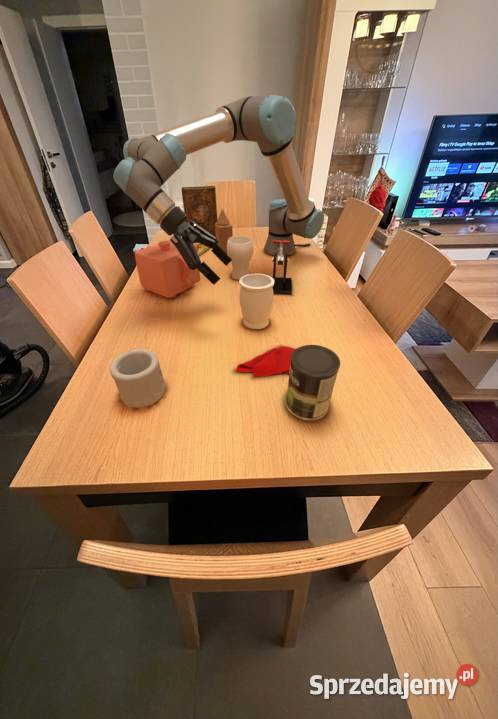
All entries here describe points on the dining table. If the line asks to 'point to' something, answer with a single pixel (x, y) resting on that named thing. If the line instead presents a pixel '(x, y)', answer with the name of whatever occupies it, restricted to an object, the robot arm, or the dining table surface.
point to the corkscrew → (280, 256)
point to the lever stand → (281, 278)
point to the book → (201, 206)
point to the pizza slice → (201, 248)
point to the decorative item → (223, 231)
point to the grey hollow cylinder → (138, 377)
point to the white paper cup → (256, 299)
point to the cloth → (269, 362)
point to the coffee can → (311, 381)
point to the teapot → (164, 269)
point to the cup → (240, 255)
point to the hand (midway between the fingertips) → (223, 272)
